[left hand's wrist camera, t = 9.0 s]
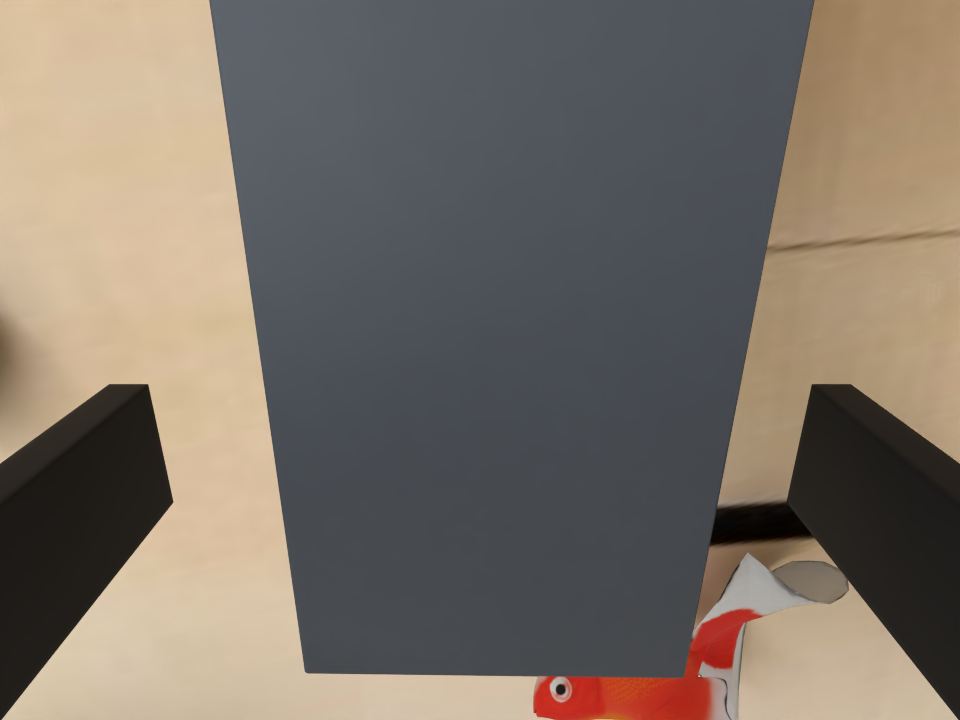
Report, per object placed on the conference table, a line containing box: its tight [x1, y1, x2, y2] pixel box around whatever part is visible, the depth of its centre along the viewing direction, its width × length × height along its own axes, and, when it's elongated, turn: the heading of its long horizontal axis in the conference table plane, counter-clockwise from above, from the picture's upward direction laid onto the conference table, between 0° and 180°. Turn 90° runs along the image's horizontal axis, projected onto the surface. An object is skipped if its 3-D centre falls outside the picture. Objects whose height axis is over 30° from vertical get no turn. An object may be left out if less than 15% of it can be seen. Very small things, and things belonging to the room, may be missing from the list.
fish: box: [533, 552, 849, 720], centre depth 30 cm, size 11×16×10 cm
